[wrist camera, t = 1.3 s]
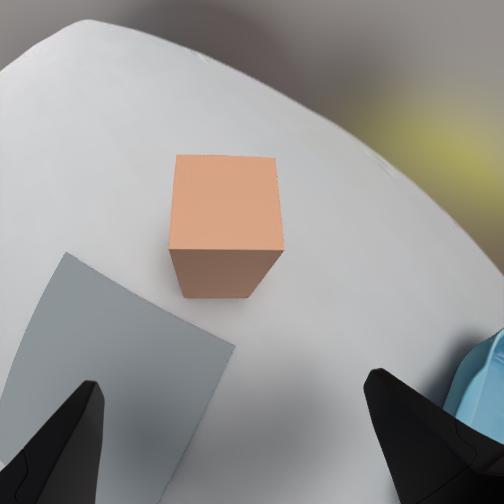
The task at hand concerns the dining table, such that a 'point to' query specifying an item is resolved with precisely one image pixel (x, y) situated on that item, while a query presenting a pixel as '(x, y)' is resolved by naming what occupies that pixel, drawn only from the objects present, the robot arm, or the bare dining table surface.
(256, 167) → the block
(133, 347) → the mat
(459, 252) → the dining table surface
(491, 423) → the casserole dish
